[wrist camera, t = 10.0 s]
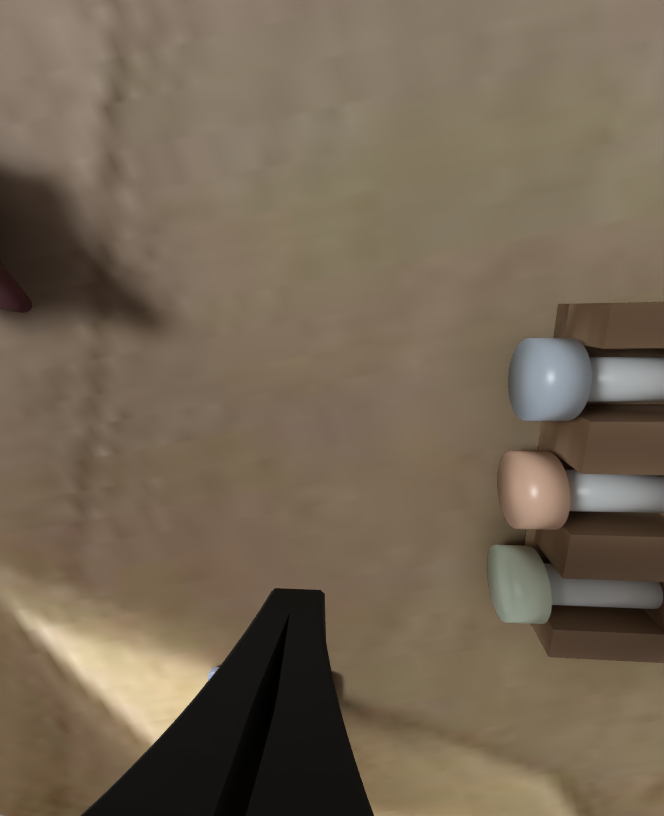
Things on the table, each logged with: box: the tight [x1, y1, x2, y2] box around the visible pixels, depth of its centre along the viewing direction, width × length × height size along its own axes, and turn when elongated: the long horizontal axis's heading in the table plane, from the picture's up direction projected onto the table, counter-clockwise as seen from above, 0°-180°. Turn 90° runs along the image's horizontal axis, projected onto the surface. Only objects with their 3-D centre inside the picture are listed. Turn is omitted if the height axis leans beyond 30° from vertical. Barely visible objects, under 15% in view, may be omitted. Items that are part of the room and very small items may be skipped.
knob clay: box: [497, 451, 664, 530], centre depth 16 cm, size 7×3×3 cm, turn 91°
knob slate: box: [508, 338, 664, 421], centre depth 15 cm, size 7×3×3 cm, turn 91°
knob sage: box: [487, 545, 663, 624], centre depth 17 cm, size 7×3×3 cm, turn 91°
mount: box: [524, 302, 664, 663], centre depth 16 cm, size 16×6×4 cm, turn 1°
